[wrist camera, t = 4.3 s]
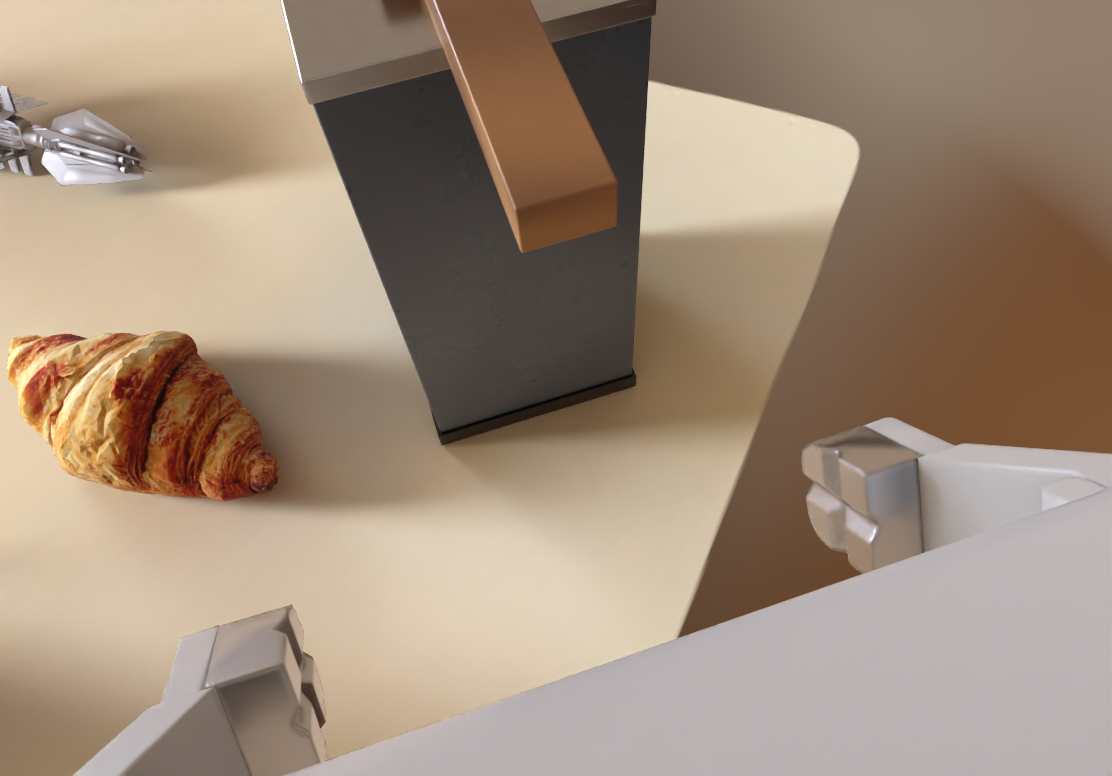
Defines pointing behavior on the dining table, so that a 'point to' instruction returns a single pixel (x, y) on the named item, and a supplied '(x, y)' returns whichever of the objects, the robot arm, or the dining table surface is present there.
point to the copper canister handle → (527, 121)
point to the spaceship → (68, 145)
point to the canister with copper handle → (481, 206)
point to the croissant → (140, 414)
